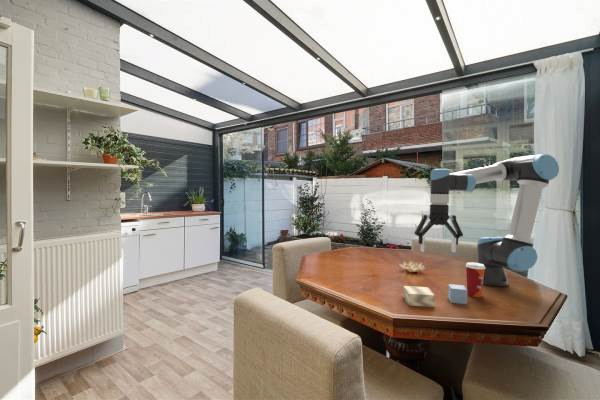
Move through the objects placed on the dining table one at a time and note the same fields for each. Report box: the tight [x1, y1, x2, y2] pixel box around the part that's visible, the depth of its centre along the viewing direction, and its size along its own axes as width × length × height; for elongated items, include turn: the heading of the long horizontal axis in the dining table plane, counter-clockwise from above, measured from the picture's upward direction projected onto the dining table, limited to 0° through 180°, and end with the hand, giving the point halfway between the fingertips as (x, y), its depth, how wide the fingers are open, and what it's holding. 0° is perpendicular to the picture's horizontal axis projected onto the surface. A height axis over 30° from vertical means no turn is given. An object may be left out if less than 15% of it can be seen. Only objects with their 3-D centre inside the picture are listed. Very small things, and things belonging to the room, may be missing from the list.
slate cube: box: [447, 283, 468, 305], centre depth 125 cm, size 6×6×6 cm
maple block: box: [402, 285, 436, 308], centre depth 124 cm, size 10×10×5 cm
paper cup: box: [465, 261, 485, 298], centre depth 132 cm, size 8×8×14 cm
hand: (437, 251), depth 132 cm, fingers open, 13 cm apart
